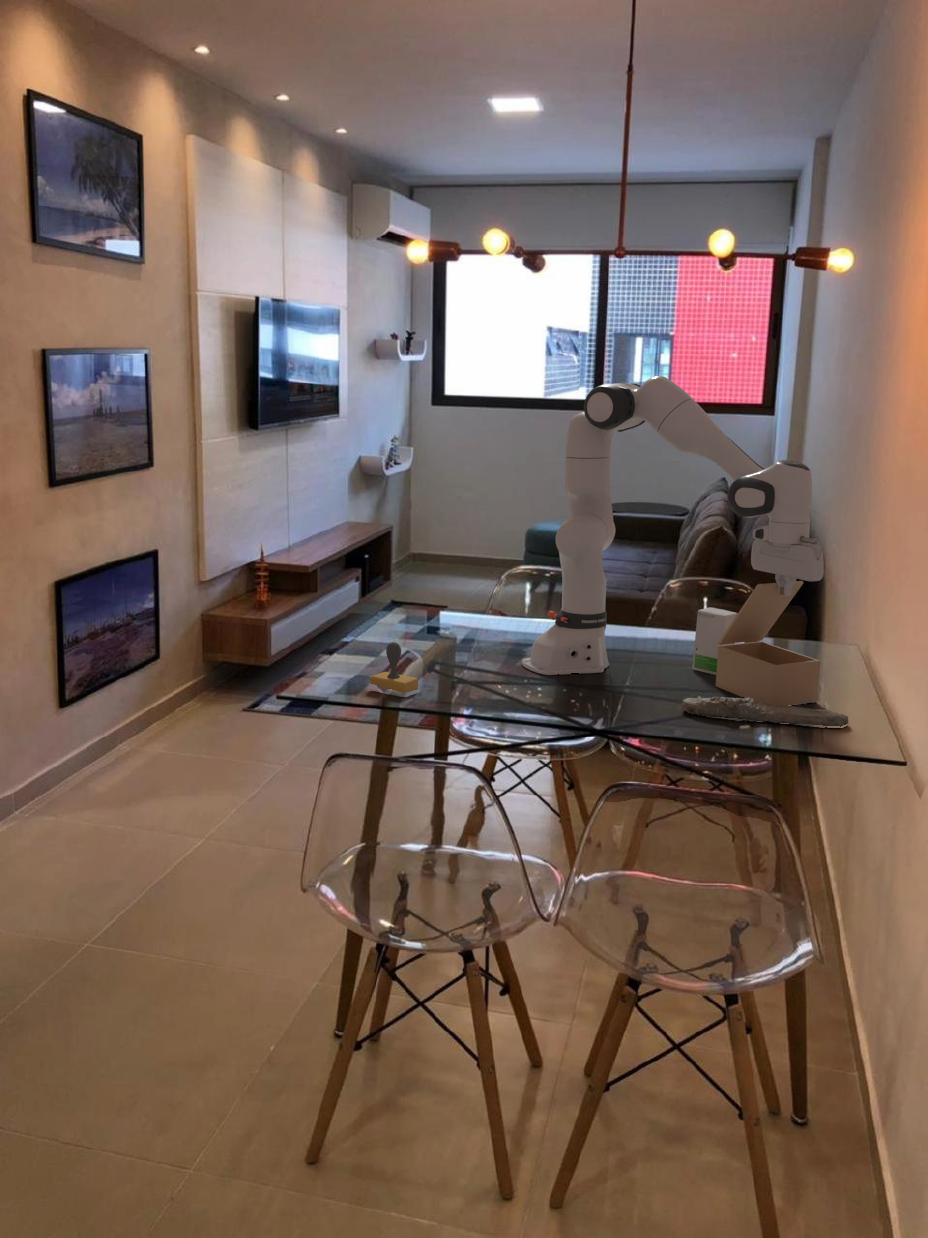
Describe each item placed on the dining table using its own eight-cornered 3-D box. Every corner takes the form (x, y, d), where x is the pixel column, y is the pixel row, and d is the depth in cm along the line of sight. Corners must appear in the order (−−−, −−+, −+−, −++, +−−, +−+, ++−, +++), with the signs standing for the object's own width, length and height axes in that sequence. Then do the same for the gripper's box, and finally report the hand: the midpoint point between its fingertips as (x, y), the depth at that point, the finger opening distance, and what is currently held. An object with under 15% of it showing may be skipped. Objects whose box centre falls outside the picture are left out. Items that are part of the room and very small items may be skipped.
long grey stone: (848, 741, 223) (844, 729, 233) (852, 717, 222) (848, 706, 232) (679, 716, 232) (682, 706, 241) (682, 693, 231) (684, 683, 240)
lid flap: (758, 586, 240) (757, 584, 240) (719, 644, 254) (717, 642, 255) (803, 582, 245) (802, 580, 246) (762, 640, 260) (761, 638, 260)
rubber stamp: (369, 691, 248) (369, 641, 245) (384, 686, 252) (384, 636, 250) (403, 699, 242) (403, 647, 240) (418, 693, 247) (418, 642, 245)
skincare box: (691, 670, 271) (695, 610, 268) (705, 665, 276) (708, 606, 273) (720, 676, 266) (725, 615, 262) (734, 671, 271) (738, 611, 267)
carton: (771, 709, 239) (775, 665, 237) (715, 686, 257) (718, 645, 255) (816, 702, 245) (820, 660, 242) (758, 680, 262) (761, 641, 260)
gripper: (833, 538, 231) (828, 601, 234) (769, 528, 249) (765, 587, 252) (810, 540, 228) (806, 604, 231) (747, 529, 247) (744, 588, 249)
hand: (784, 595), depth 242 cm, fingers closed
